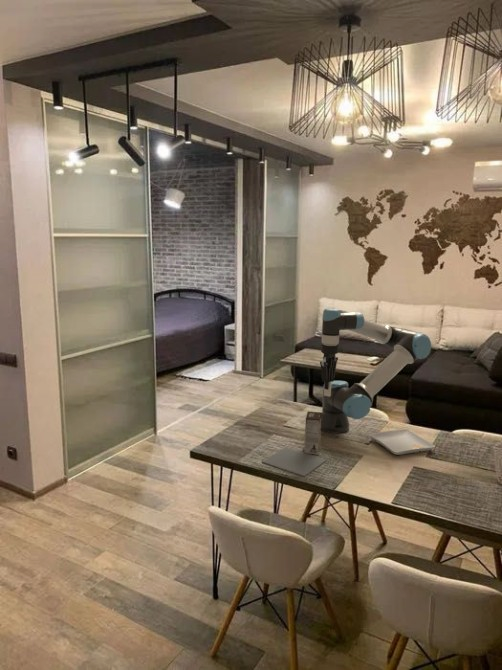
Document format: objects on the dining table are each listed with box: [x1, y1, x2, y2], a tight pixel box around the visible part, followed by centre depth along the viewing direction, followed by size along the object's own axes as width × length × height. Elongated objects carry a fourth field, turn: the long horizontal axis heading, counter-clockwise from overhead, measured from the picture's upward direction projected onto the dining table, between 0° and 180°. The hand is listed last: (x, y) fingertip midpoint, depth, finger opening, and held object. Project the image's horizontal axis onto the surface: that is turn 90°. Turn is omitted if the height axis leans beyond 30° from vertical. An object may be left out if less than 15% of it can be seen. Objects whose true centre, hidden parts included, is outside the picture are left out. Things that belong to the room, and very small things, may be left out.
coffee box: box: [303, 411, 322, 455], centre depth 217 cm, size 9×6×16 cm
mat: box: [261, 446, 327, 478], centre depth 207 cm, size 18×20×1 cm
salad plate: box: [368, 428, 436, 456], centre depth 225 cm, size 21×21×3 cm
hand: (327, 395), depth 224 cm, fingers closed
